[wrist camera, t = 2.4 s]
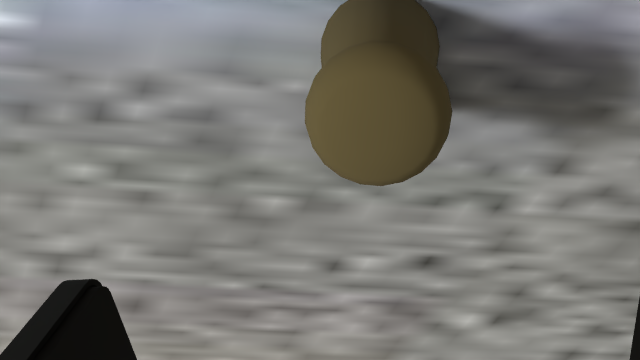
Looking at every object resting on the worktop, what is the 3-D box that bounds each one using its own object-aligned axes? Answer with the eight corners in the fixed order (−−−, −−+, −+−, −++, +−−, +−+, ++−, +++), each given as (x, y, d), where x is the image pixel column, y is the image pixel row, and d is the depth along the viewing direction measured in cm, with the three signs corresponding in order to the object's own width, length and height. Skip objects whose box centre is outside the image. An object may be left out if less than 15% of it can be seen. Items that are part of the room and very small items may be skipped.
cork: (301, 20, 27) (255, 86, 17) (415, -32, 26) (433, 8, 16) (348, 123, 29) (330, 233, 20) (455, 82, 28) (494, 179, 18)
